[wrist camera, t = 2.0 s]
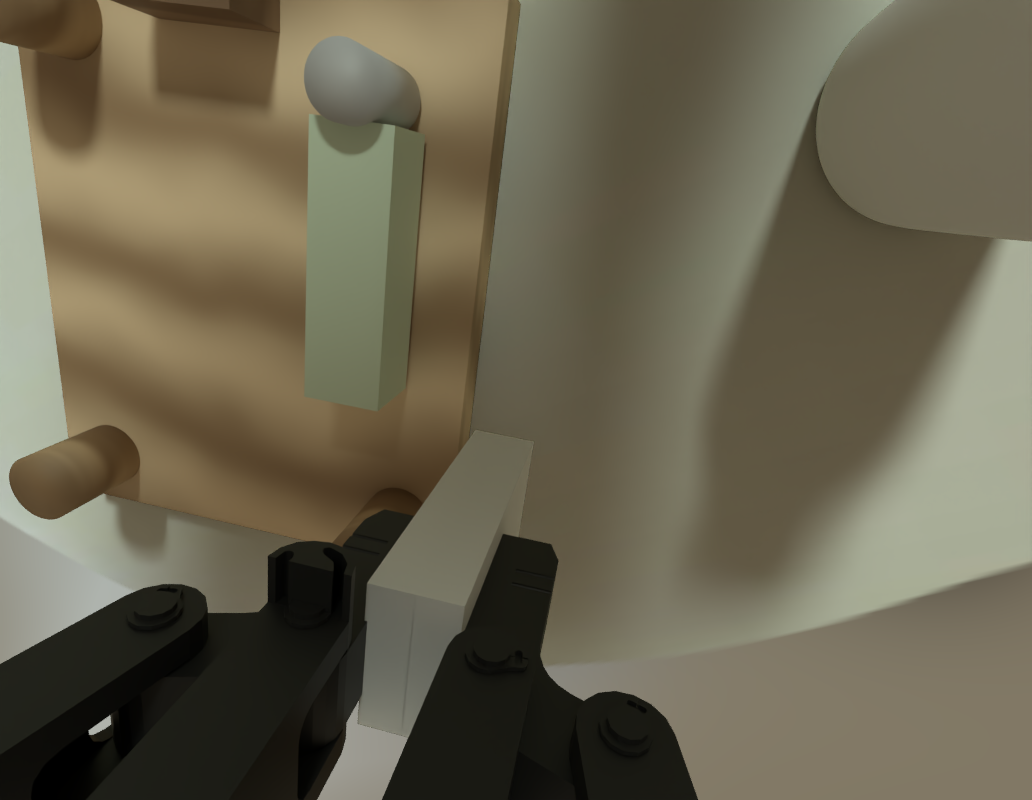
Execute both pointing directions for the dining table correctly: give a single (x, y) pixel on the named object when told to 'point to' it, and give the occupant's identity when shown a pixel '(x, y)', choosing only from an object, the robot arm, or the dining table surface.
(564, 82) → the dining table surface
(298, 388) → the stool board
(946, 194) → the milk bottle
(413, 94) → the rail
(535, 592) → the robot arm
